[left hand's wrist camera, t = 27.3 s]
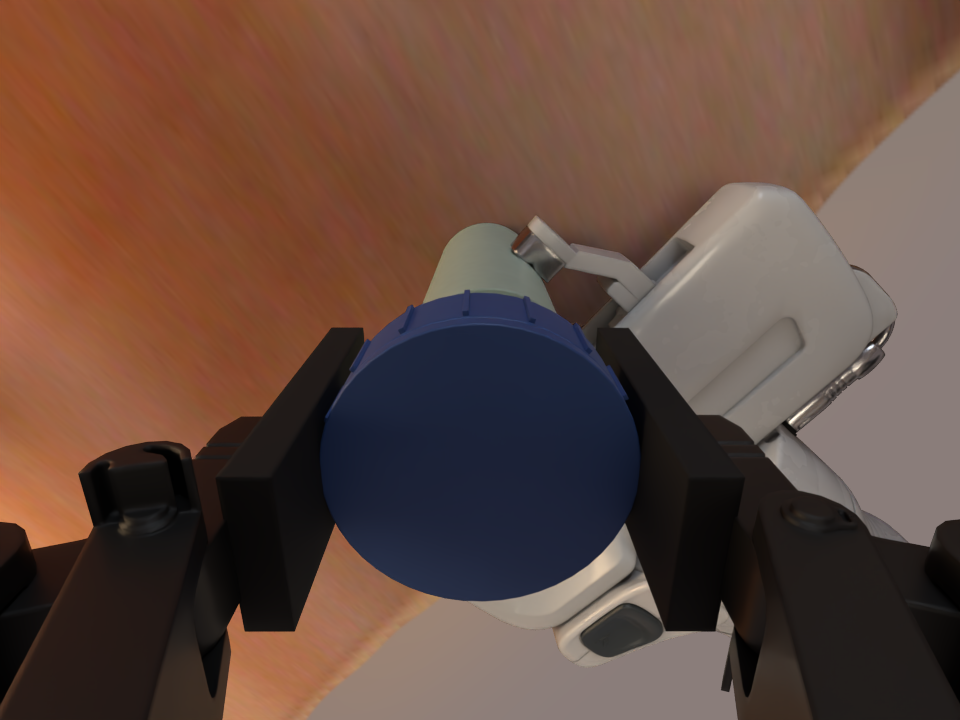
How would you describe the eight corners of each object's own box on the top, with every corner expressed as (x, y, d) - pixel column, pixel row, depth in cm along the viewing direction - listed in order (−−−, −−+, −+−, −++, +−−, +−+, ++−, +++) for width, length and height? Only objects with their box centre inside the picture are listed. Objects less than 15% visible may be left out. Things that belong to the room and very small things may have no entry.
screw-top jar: (547, 241, 28) (613, 342, 13) (514, 328, 29) (543, 501, 15) (456, 209, 27) (424, 279, 13) (427, 299, 29) (371, 450, 14)
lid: (338, 524, 13) (314, 590, 11) (346, 274, 11) (318, 302, 9) (590, 547, 13) (609, 616, 11) (644, 307, 11) (677, 341, 9)
